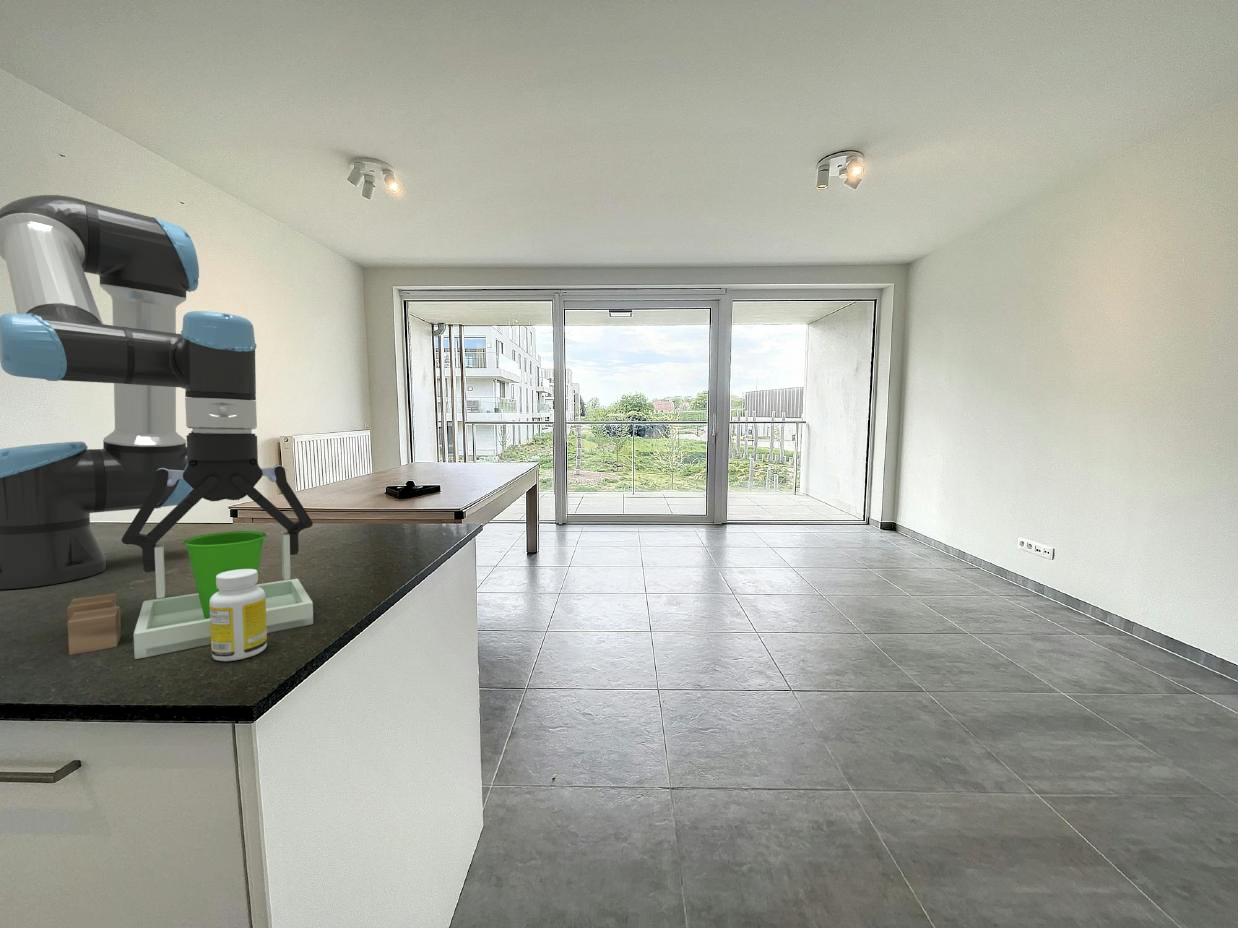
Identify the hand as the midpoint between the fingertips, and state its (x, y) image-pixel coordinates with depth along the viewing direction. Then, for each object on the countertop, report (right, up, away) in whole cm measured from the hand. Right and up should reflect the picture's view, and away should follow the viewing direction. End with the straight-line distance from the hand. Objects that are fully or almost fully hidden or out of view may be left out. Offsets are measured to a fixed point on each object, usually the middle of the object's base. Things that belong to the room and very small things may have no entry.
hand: (227, 585), depth 70 cm
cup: (0, -4, 0) cm, 4 cm away
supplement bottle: (+8, -6, -8) cm, 13 cm away
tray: (0, -5, 0) cm, 5 cm away
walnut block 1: (-16, -5, -3) cm, 17 cm away
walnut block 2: (-11, -6, -7) cm, 14 cm away
